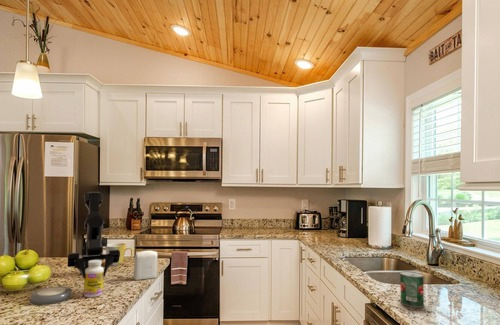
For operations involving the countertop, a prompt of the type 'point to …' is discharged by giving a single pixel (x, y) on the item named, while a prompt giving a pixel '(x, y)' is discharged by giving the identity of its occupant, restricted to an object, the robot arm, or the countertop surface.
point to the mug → (121, 248)
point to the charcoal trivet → (50, 295)
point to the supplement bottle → (93, 279)
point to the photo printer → (145, 265)
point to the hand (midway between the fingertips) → (94, 277)
